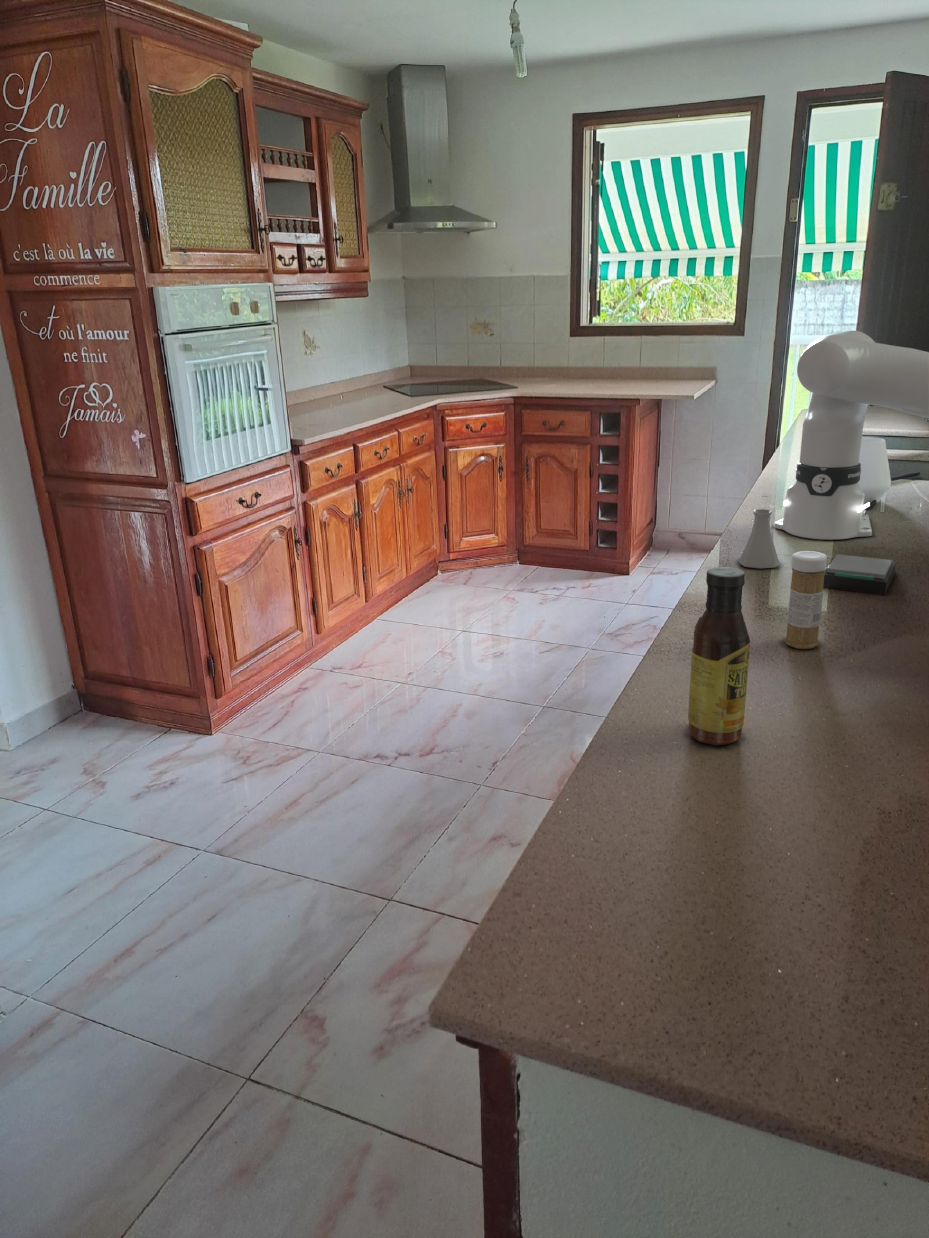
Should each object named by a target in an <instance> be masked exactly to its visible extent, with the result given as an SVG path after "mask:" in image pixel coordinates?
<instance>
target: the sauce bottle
mask: <svg viewBox="0 0 929 1238" xmlns="http://www.w3.org/2000/svg"><path fill="white" fill-rule="evenodd" d="M745 578H746V574H745V571H743V569H739V568H736V567H730V566H718V567H711V568H709V569H708V570H707V571H706V578H705V579H706V580H705V581H706V585H707V588H706V589H707V591H706V601H705V611H704V612H703V614H702V615H701V616H700V617H699V618H698V620H697V622H696V624H695V625H694V631H693V642H692V643H693V645H692V648H691V659H690V660H691V661H690V675H689V676H690V679H689V680H690V681H689V693H688V708H687V709H688V711H687V721H688V733H689V734H690V735H691V738H693V739H694V740H696V741H697V742H700V743H703V744H708V745H712V746H725V745H730V744H733V743H735V742H737V741H739V740H740V739H741V736H742V732H743V730H742V729H743V727H744V725H745V712H746V699H747V688H748V677H749V665H750V664H749V662H750V650H751V639H750V635H749V632H748V628H747V625H746V621H745V618H744V615H743V611H742V608H743V605H742V599H743V598H742V597H743V596H742V595H743V588H744V585H745V584H746V582H745V580H746V579H745Z"/></svg>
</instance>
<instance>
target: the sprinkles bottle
mask: <svg viewBox="0 0 929 1238" xmlns="http://www.w3.org/2000/svg"><path fill="white" fill-rule="evenodd" d="M790 566H791V581H790V588H789V589H790V591H789V598H788V599H789V600H788V606H787V608H788V609H787V619H786V622H787V623H786V625H787V626H786V635H785V639H784V641H785V644H786V645H788V646H790V647H791V648H794V649H800V650H810V649H811V650H812V649H814V648H816V647H817V646H818V645H819V640H818V639H819V631H820V625H821V619H822V618H821V617H822V609H823V598H824V587H823V584H824V573H825V570H826V568H827V567H828V556H827V554H825V553H822V552H819V551H812V550H802V551H796V552H794V553H792V556H791V564H790Z"/></svg>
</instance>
